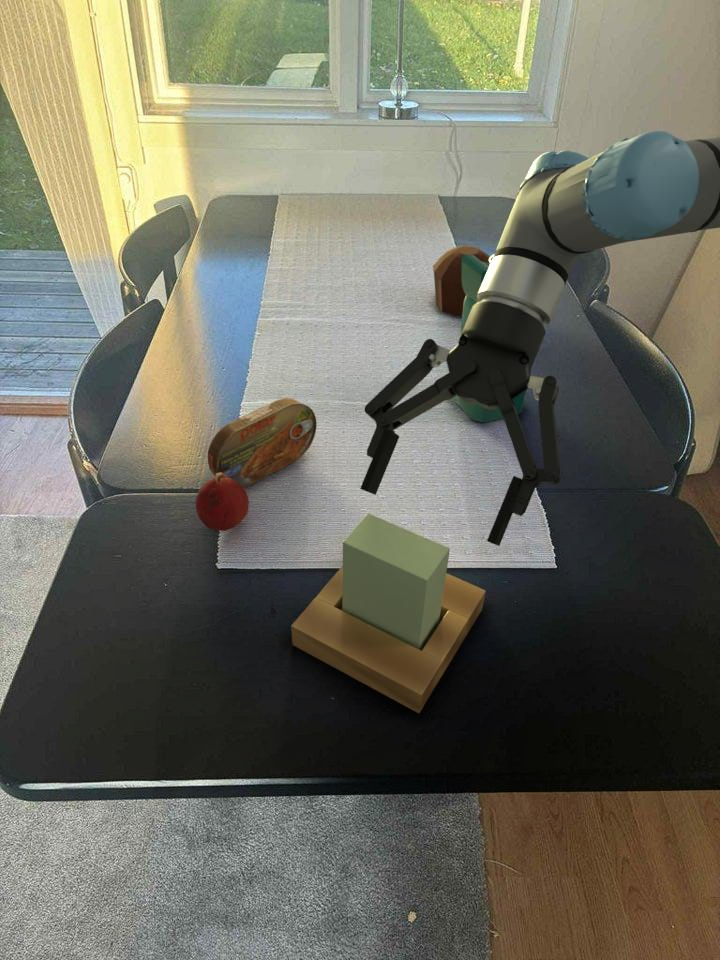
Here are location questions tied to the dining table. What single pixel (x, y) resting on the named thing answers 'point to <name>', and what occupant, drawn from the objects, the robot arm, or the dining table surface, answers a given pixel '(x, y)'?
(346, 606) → the pale green block
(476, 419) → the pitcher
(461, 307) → the brown wooden arched block
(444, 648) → the mount block
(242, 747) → the dining table surface
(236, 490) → the onion
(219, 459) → the tin
